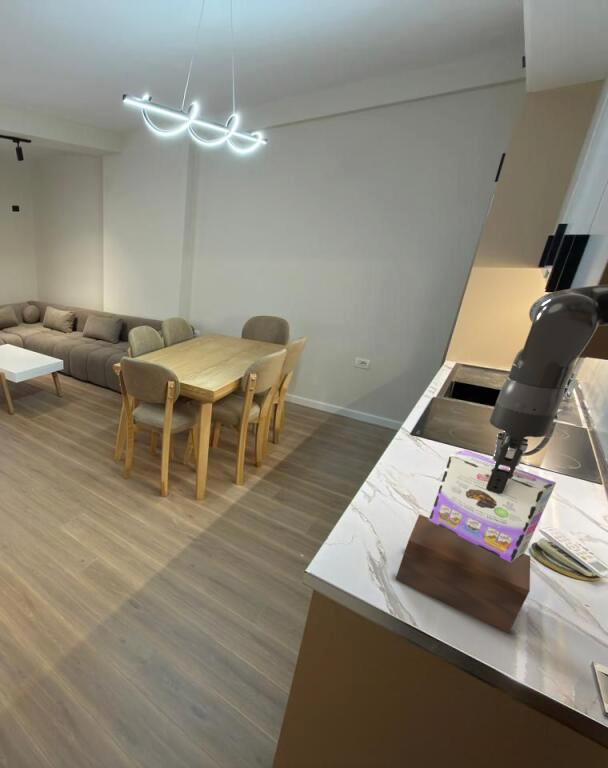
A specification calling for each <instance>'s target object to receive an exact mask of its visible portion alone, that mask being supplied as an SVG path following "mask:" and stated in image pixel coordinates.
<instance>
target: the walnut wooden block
mask: <svg viewBox="0 0 608 768" xmlns="http://www.w3.org/2000/svg"><path fill="white" fill-rule="evenodd" d="M395 580H396V581H397V582H400V583H401V584H404V585H406V586H407V587H410V588H412V589H414V590H416V591H418V592H420V593H422V594H425V595H427V596H428V597H430V598H433V599H434V600H437V601H439V602H440V603H442V604H445V605H447V606H449V607H451V608H453V609H455V610H457V611H459V612H461V613H464V614H466V615H468V616H470V617H472V618H474V619H476V620H478V621H480V622H482V623H484V624H486V625H488V626H490V627H492V628H494V629H496V630H498V631H500V632H503V633H505V634H507V635H509V633H510V631H511V630H512V627H513V625H514V624H515V621H516V619H517V617H518V615H519V614H520V611H521V609H522V608H523V606H524V604H525V601H526V600H527V597H528V596H529V593H530V592H531V591H530V590H531V555H528V554H526V553H524V554H523V555H522V556H521V557H519V558H517V559H516V560H514V561H513V562H512V563H510V562H508V561H506V560H504V559H502V558H500V557H498V556H497V555H495V554H493V553H491V552H489V551H487V550H485V549H483V548H481V547H479V546H477V545H475V544H474V543H472V542H470V541H468V540H466V539H464V538H462V537H460V536H458V535H456V534H454V533H452V532H450V531H448V530H447V529H445V528H443V527H441V526H439V525H437V524H435V523H433V522H431V521H430V520H429V517H428V516H425V515H423V514H420V513H419V514H418V516H417V519H416V521H415V524H414V526H413V528H412V530H411V534H410V536H409V538H408V540H407V544H406V546H405V549H404V552H403V556H402V558H401V562H400V564H399V567H398V570H397V573H396V577H395Z"/></svg>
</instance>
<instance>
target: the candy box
mask: <svg viewBox="0 0 608 768" xmlns="http://www.w3.org/2000/svg"><path fill="white" fill-rule="evenodd" d="M494 463H495V462H494V461H493V460H492V458H489V457H486V456H484V455H481V454H478V453H475V452H473V451H470V450H467V449H463V450H459V451H457V452H456V453H453V454H450V455H449V456H448V461H447V464H446V466H445V470H444V473H443V475H442V478H441V481H440V484H439V488H438V491H437V494H436V496H435V497H436V498H435V500H434V503H433V506H432V509H431V511H430V515H429V517H428V518H429V520H430V521H431V522H433V523H435V524H437V525H439V526H441V527H443V528H445V529H447V530H448V531H450V532H452V533H454V534H456V535H458V536H460V537H462V538H464V539H466V540H468V541H470V542H472V543H474V544H475V545H477V546H479V547H481V548H483V549H485V550H487V551H489V552H491V553H493V554H495V555H497V556H498V557H500V558H502V559H504V560H506V561H508V562H510V563H512V562H513V561H514V560H516V559H517V558H519V557H521V556H522V555H523V554H526V551H527V550H528V547H529V544H530V542H531V541H532V538H533V535H534V533H535V531H536V529H537V527H538V525H539V522H540V520H541V517H542V515H543V513H544V511H545V509H546V507H547V504H548V502H549V500H550V498H551V495H552V493H553V491H554V488H555V486H556V484H557V481H553V480H551V479H547V478H545V477H542V476H539V475H536V474H533V473H530V472H527V471H525V470H523V469H520V468H517V467H516V468H515V470H514V472H513V477H511V479H508V481H507V483H506V485H505V488H504V490H503V493H502V494H497V493H494V492H490V491H488V490H487V489H486V486H487V484H488V481H489V479H490V476H491V474H492V473H491V469H493V466H494ZM498 468H499V469H503V470H506V471H508V469H509V467H508V466H504V465H499V467H498Z"/></svg>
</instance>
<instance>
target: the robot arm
mask: <svg viewBox="0 0 608 768" xmlns="http://www.w3.org/2000/svg"><path fill="white" fill-rule="evenodd" d="M528 313H529V314H528V317H529V320H530V322H531V325H530V329H529V331H528V334H527V337H526V340H525V342H524V346H523V348H521V349H520V350H519V351H518V352H517V353H516V355H515V357H514V359H513V362H512V365H511V368H510V370H509V373H508V375H507V377H506V380H505V382H504V383H503V385H502V387H501V389H500V390H499V393H498V395H497V398H496V402H495V405H494V407H493V410H492V412H491V414H490V418H489V423H490V425H491V426H493V427H494V428H496V429H498V430H500V431H501V430H502V432H500V431H498V433H497V434H496V435H497V436H496V438H495V443H494V448H493V450H494V452H493V455H492V457H491V459H492V460H493V461H494V462H495V463H494V466H493V469H491V473H492V474H491V476H490V479H489V481H488V484H487V486H486V489H487V490H488V491H490V492H494V493H497V494H502V493H503V490H504V488H505V485H506V483H507V481H508V479H511V477H513V472H514V470H515V468H517V467H518V466H519V465H520V463H521V461H522V457H523V455H524V453H526V451H527V449H528V446H529V444H528V442H529V438H530V437H532V438H543V437H546V436H548V434H549V432H550V430H551V427H552V426H553V423H554V421H555V419H556V416H557V414H558V411H559V409H560V407H561V404H562V402H563V400H564V394H565V390H566V387H567V385H568V383H569V380H570V379H571V376H572V374H573V371H574V368H575V365H576V362H577V361H578V358H579V357H580V356H581V354H583V352H584V350H585V349H586V347H587V346H588V345H589V343H590V342H591V340H592V338H593V337H594V335H595V333H596V331H597V329H598V327H603V326H608V284H600V285H591V286H590V285H589V286H581V287H573V288H567V289H562V290H556V291H554V292H550V293H547V294H545V295H542V296H541V297H539V298H538V299H536V300H535V302H533V304H532V305H531V306H530V309H529V311H528ZM499 465H504V466H508V467H509V469H508V471H506V470H503V469H499V468H498V467H499Z"/></svg>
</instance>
